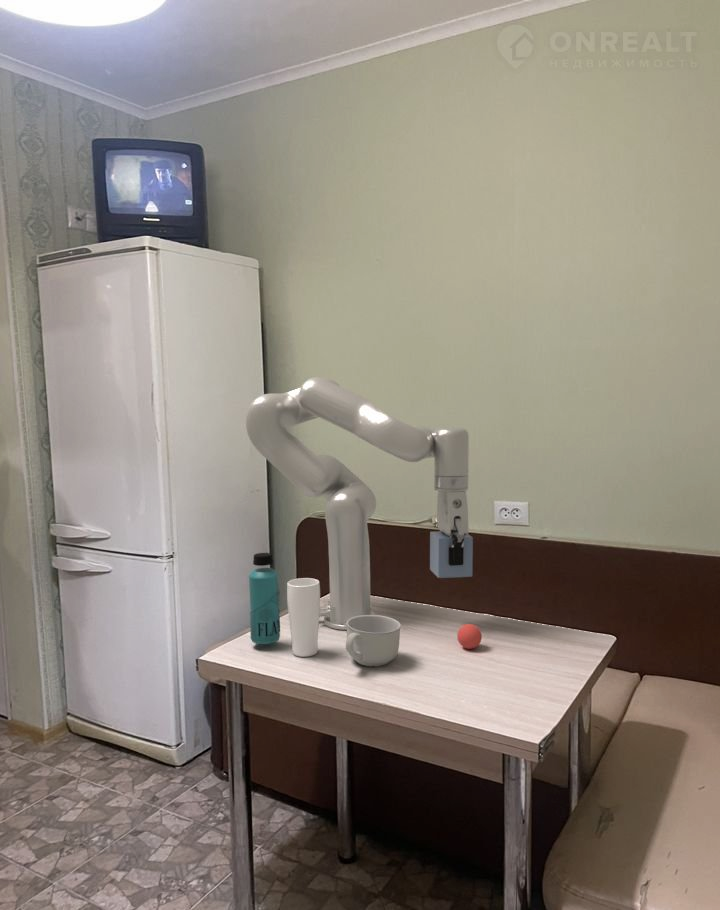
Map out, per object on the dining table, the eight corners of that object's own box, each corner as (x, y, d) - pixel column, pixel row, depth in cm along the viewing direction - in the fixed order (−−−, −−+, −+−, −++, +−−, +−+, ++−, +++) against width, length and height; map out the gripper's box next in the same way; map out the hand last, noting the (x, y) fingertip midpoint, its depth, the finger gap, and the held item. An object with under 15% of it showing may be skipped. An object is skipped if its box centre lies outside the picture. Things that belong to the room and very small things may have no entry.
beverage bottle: (254, 653, 145) (251, 558, 144) (246, 643, 151) (243, 552, 150) (284, 648, 148) (282, 555, 146) (275, 638, 154) (273, 549, 152)
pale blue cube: (438, 578, 153) (438, 538, 153) (430, 569, 161) (430, 531, 160) (472, 576, 155) (472, 537, 154) (462, 568, 162) (462, 530, 161)
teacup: (373, 647, 147) (372, 610, 147) (412, 660, 140) (411, 621, 139) (324, 666, 138) (323, 626, 137) (362, 681, 130) (362, 639, 129)
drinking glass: (323, 647, 148) (322, 577, 147) (318, 659, 141) (316, 586, 140) (292, 647, 148) (290, 577, 147) (285, 658, 142) (283, 586, 141)
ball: (461, 653, 143) (461, 629, 143) (454, 644, 148) (454, 621, 148) (485, 651, 144) (484, 627, 143) (477, 643, 149) (477, 620, 148)
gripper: (479, 487, 148) (478, 569, 149) (456, 478, 165) (456, 551, 167) (445, 488, 147) (444, 570, 148) (425, 478, 164) (425, 552, 166)
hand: (450, 560), depth 158 cm, fingers closed on pale blue cube, 7 cm apart
